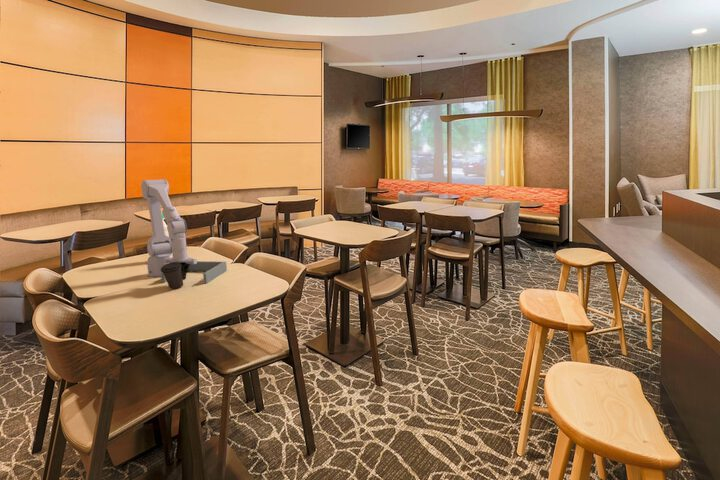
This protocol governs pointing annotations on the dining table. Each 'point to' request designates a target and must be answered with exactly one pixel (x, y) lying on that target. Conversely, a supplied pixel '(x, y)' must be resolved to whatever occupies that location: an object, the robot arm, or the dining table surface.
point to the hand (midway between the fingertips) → (182, 279)
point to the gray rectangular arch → (206, 269)
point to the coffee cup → (173, 274)
